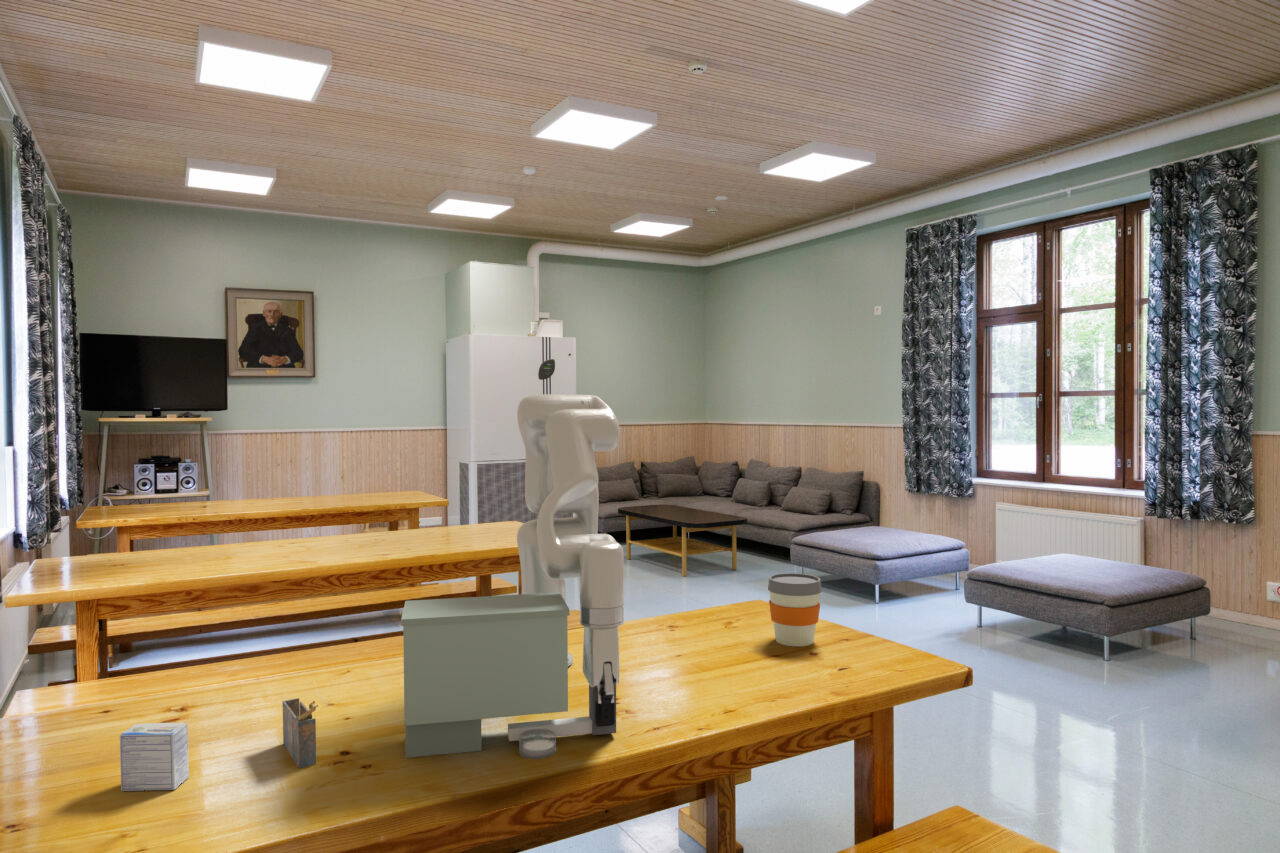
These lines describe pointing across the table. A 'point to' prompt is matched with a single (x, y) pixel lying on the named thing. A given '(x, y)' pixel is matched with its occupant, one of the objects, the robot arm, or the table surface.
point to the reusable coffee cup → (794, 607)
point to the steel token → (537, 743)
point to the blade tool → (567, 722)
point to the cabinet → (480, 666)
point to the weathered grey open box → (299, 732)
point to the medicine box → (154, 756)
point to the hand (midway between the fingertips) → (602, 719)
